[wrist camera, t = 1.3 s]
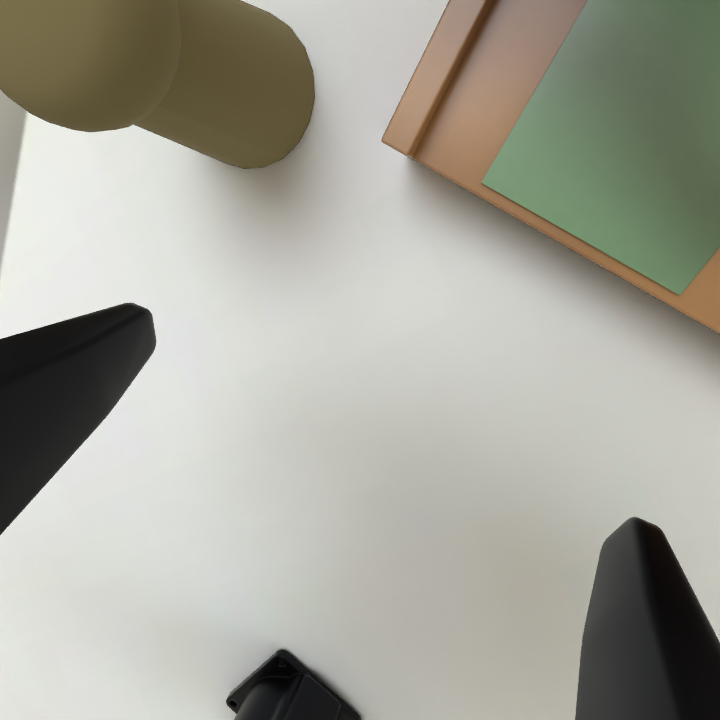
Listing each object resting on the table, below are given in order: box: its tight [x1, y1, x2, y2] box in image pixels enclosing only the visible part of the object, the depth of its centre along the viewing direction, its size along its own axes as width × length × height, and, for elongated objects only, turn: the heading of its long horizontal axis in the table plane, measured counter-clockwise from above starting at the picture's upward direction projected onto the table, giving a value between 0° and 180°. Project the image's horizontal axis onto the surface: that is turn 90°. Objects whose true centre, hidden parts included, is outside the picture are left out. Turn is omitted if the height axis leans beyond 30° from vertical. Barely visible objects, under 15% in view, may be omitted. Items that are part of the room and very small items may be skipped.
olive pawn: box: [0, 0, 314, 169], centre depth 16 cm, size 6×6×11 cm
